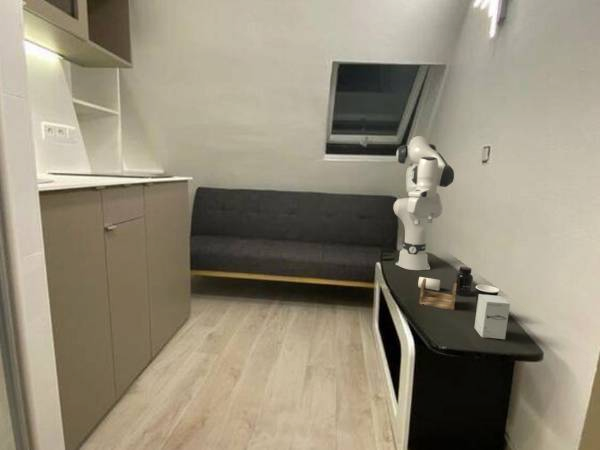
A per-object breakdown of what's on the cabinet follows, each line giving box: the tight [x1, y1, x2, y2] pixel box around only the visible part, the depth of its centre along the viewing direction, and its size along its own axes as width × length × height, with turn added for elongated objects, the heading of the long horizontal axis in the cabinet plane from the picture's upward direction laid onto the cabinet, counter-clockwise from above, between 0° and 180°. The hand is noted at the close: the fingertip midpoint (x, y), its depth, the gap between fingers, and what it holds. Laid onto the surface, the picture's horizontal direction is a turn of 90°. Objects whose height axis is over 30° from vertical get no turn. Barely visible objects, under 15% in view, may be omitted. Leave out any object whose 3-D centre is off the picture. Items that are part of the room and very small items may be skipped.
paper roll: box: [417, 276, 441, 292], centre depth 159 cm, size 9×5×5 cm, turn 64°
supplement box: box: [474, 294, 511, 340], centre depth 115 cm, size 7×7×13 cm
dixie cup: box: [475, 284, 500, 312], centre depth 130 cm, size 8×8×11 cm
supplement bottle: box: [454, 266, 474, 297], centre depth 153 cm, size 7×7×12 cm
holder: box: [418, 277, 457, 311], centre depth 141 cm, size 13×10×8 cm
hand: (423, 223), depth 157 cm, fingers open, 8 cm apart
